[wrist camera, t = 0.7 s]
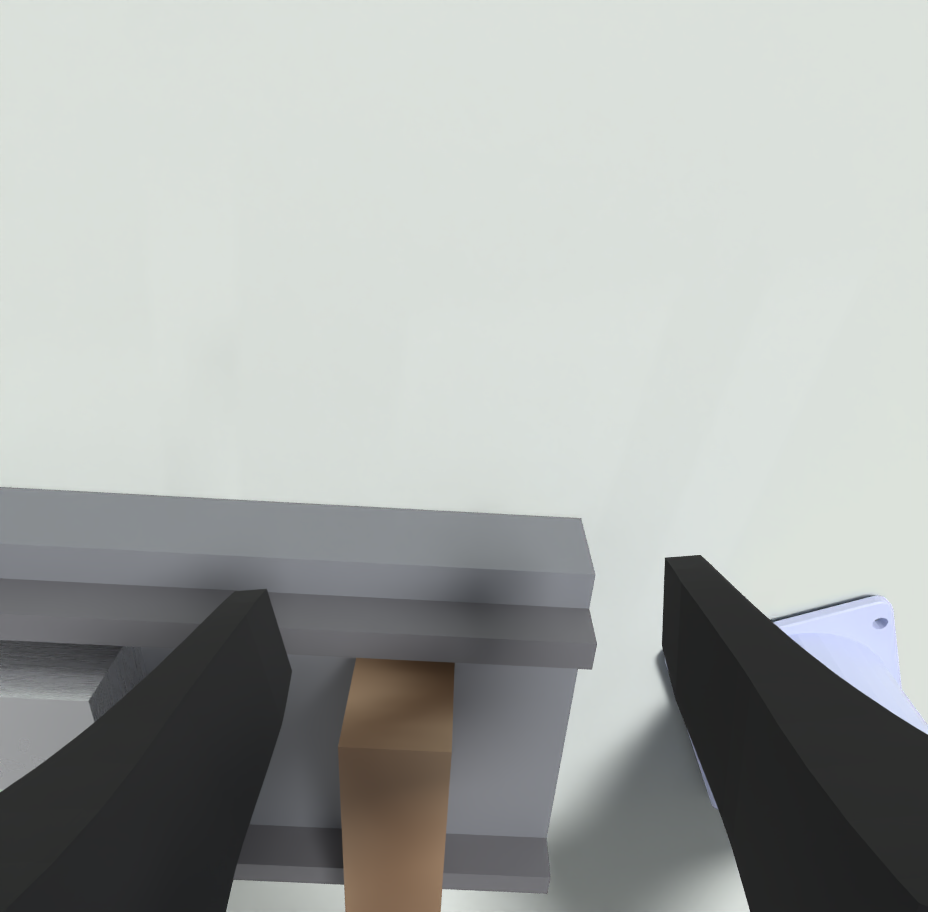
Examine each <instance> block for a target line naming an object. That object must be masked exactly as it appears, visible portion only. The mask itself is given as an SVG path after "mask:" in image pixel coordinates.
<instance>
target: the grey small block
mask: <svg viewBox="0 0 928 912" xmlns="http://www.w3.org/2000/svg"><path fill="white" fill-rule="evenodd" d="M146 676H147V671H146V667H145V662H144V658H143V654H142V649H141V647H132V646H112V645H92V644H72V643H52V642H32V641H12V640H0V790H4V789H6V788H7V787H8V786H10V785H11V784H13V783H14V782H16V781H17V780H19V779H20V778H22V777H23V776H24V775H26V774H27V773H29V772H30V771H32V770H33V769H35V768H36V767H37V766H39V765H40V764H42V763H43V762H44V761H46V760H47V759H48V758H50V757H51V756H52V755H53V754H55V753H56V752H57V751H59V750H60V749H61V748H63V747H64V746H65V745H66V744H68V743H69V742H70V741H72V740H73V739H74V738H76V737H77V736H78V735H79V734H81V733H82V732H83V731H84V730H86V729H87V728H88V727H89V726H90V725H92V724H93V723H94V722H95V721H96V720H98V719H99V718H100V717H101V716H102V715H104V714H105V713H106V712H107V711H108V710H109V709H110V708H112V707H113V706H114V705H115V704H116V703H117V702H118V701H119V700H120V699H122V698H123V697H124V696H125V695H126V694H127V693H128V692H129V691H131V690H132V689H133V688H134V687H135V686H136V685H137V684H138V683H139V682H141V681H142V680H143V679H144V678H145V677H146Z"/></svg>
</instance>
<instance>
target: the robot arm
mask: <svg viewBox="0 0 928 912" xmlns="http://www.w3.org/2000/svg"><path fill="white" fill-rule="evenodd" d="M879 618H880V619H879ZM876 619H879V620H877V621H875V620H876ZM662 647H663V651H664V655H665V663H666V666H667V669H668V672H669V676H670V679H671V683H672V687H673V691H674V695H675V698H676V701H677V704H678V706H679V709H680V712H681V714H682V717H683V719H684V722H685V725H686V728H687V731H688V734H689V737H690V740H691V743H692V746H693V749H694V752H695V755H696V758H697V762H698V765H699V768H700V771H701V774H702V777H703V780H704V783H705V786H706V789H707V792H708V795H709V798H710V801H711V804H712V806H713V807H714V808H716V809H718V810H719V812H720V815H721V817H722V820H723V823H724V826H725V829H726V832H727V834H728V837H729V840H730V843H731V846H732V849H733V853H734V856H735V860H736V863H737V867H738V870H739V874H740V877H741V881H742V884H743V888H744V891H745V895H746V898H747V902H748V905H749V909H750V912H928V725H927V723H926V722H925V720H924V719H923V718H922V716H921V715H920V713H919V712H918V711H917V709H916V708H915V707H914V705H913V704H912V702H911V701H910V700H909V698H908V697H907V695H906V694H905V693H904V691H903V690H902V687H901V677H900V668H899V658H898V649H897V640H896V630H895V621H894V611H893V607H892V605H891V603H890V602H889V601H888V600H887V599H886V598H885V597H883V596H871V597H868V598H864V599H860V600H856V601H852V602H848V603H845V604H841V605H837V606H833V607H829V608H825V609H821V610H818V611H814V612H810V613H806V614H802V615H798V616H795V617H791V618H787V619H783V620H779V621H775V622H772V621H771V620H770V619H769V618H767V617H766V616H765V615H764V614H763V613H762V612H761V611H760V610H758V609H757V608H756V607H755V606H754V605H753V604H752V603H751V602H750V601H749V600H748V599H746V598H745V597H744V596H743V595H742V594H741V593H740V592H739V591H738V590H737V589H736V588H735V587H734V586H733V585H732V584H731V583H730V582H728V581H727V580H726V579H725V578H724V577H723V576H722V575H721V574H720V573H719V572H718V571H717V570H716V569H715V568H714V567H713V566H712V565H711V564H710V563H709V562H708V561H707V560H705V559H704V558H703V557H702V556H701V555H695V556H682V557H669V558H665V575H664V603H663V632H662ZM291 675H292V669H291V665H290V662H289V659H288V656H287V653H286V649H285V646H284V643H283V640H282V636H281V633H280V630H279V627H278V623H277V620H276V617H275V614H274V610H273V607H272V604H271V601H270V597H269V594H268V591H267V589H257V590H244V591H234V592H233V593H232V594H231V595H230V596H229V597H228V598H227V599H226V600H224V601H223V602H222V603H221V604H220V605H219V606H218V607H217V608H216V609H215V610H214V611H213V612H212V613H211V614H210V615H209V616H208V617H207V618H206V619H205V620H204V621H203V622H202V623H201V624H200V625H199V626H198V627H197V628H196V629H195V630H194V631H193V632H192V633H191V634H190V635H189V636H188V637H187V638H186V639H185V640H184V641H183V642H182V643H181V644H180V645H179V646H178V647H177V648H176V649H175V650H173V651H172V652H171V653H170V654H169V655H168V656H167V657H166V658H165V659H164V660H163V661H162V662H161V663H160V664H159V665H158V666H157V667H156V668H155V669H154V670H153V671H152V672H151V673H150V674H148V675H147V676H146V677H145V678H144V679H143V680H142V681H141V682H139V683H138V684H137V685H136V686H135V687H134V688H133V689H132V690H131V691H129V692H128V693H127V694H126V695H125V696H124V697H123V698H122V699H120V700H119V701H118V702H117V703H116V704H115V705H114V706H113V707H112V708H110V709H109V710H108V711H107V712H106V713H105V714H104V715H102V716H101V717H100V718H99V719H98V720H96V721H95V722H94V723H93V724H92V725H90V726H89V727H88V728H87V729H86V730H84V731H83V732H82V733H81V734H79V735H78V736H77V737H76V738H74V739H73V740H72V741H70V742H69V743H68V744H66V745H65V746H64V747H63V748H61V749H60V750H59V751H57V752H56V753H55V754H53V755H52V756H51V757H50V758H48V759H47V760H46V761H44V762H43V763H42V764H40V765H39V766H37V767H36V768H35V769H33V770H32V771H30V772H29V773H27V774H26V775H24V776H23V777H22V778H20V779H19V780H17V781H16V782H14V783H13V784H11V785H10V786H8V787H7V788H6V789H4V790H3V791H1V792H0V912H226V909H227V904H228V900H229V895H230V891H231V887H232V882H233V878H234V874H235V870H236V866H237V863H238V859H239V856H240V852H241V849H242V845H243V842H244V839H245V836H246V833H247V830H248V827H249V824H250V821H251V818H252V815H253V812H254V809H255V806H256V803H257V800H258V797H259V794H260V791H261V788H262V785H263V782H264V779H265V776H266V773H267V770H268V767H269V764H270V761H271V757H272V754H273V751H274V748H275V745H276V742H277V739H278V736H279V732H280V729H281V726H282V722H283V718H284V713H285V708H286V703H287V698H288V692H289V686H290V681H291Z"/></svg>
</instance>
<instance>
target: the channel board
mask: <svg viewBox="0 0 928 912" xmlns="http://www.w3.org/2000/svg"><path fill="white" fill-rule="evenodd" d="M594 579H595V571H594V567H593V563H592V559H591V556H590V552H589V548H588V544H587V540H586V536H585V532H584V528H583V524H582V520H581V518H563V517H544V516H525V515H507V514H488V513H470V512H451V511H432V510H414V509H395V508H377V507H358V506H340V505H321V504H302V503H284V502H265V501H247V500H228V499H209V498H191V497H172V496H154V495H135V494H116V493H98V492H79V491H61V490H42V489H23V488H5V487H0V640H12V641H32V642H52V643H72V644H92V645H112V646H132V647H141V649H142V654H143V658H144V662H145V667H146V671H147V675H148V674H150V673H151V672H152V671H153V670H154V669H155V668H156V667H157V666H158V665H159V664H160V663H161V662H162V661H163V660H164V659H165V658H166V657H167V656H168V655H169V654H170V653H171V652H172V651H173V650H175V649H176V648H177V647H178V646H179V645H180V644H181V643H182V642H183V641H184V640H185V639H186V638H187V637H188V636H189V635H190V634H191V633H192V632H193V631H194V630H195V629H196V628H197V627H198V626H199V625H200V624H201V623H202V622H203V621H204V620H205V619H206V618H207V617H208V616H209V615H210V614H211V613H212V612H213V611H214V610H215V609H216V608H217V607H218V606H219V605H220V604H221V603H222V602H223V601H224V600H226V599H227V598H228V597H229V596H230V595H231V594H232V593H233V592H234V591H244V590H257V589H267V591H268V594H269V597H270V601H271V604H272V607H273V610H274V614H275V617H276V620H277V623H278V627H279V630H280V633H281V636H282V640H283V643H284V646H285V649H286V653H287V656H288V659H289V662H290V665H291V669H292V675H291V681H290V686H289V692H288V698H287V703H286V708H285V713H284V718H283V722H282V726H281V729H280V732H279V736H278V739H277V742H276V745H275V748H274V751H273V754H272V757H271V761H270V764H269V767H268V770H267V773H266V776H265V779H264V782H263V785H262V788H261V791H260V794H259V797H258V800H257V803H256V806H255V809H254V812H253V815H252V818H251V821H250V824H249V827H248V830H247V833H246V836H245V839H244V842H243V845H242V849H241V852H240V856H239V859H238V863H237V866H236V870H235V874H234V878H233V880H253V881H276V882H298V883H321V884H343V885H344V867H343V846H342V824H341V802H340V781H339V759H338V744H339V739H340V734H341V730H342V725H343V720H344V715H345V710H346V705H347V700H348V696H349V691H350V686H351V681H352V676H353V671H354V666H355V661H356V658H372V659H392V660H412V661H432V662H452V663H455V666H454V698H453V730H452V756H451V770H450V784H449V798H448V812H447V826H446V840H445V854H444V869H443V883H442V889H456V890H478V891H501V892H523V893H546V894H547V892H548V887H549V882H550V869H549V858H548V848H547V833H548V827H549V822H550V816H551V811H552V806H553V800H554V795H555V789H556V784H557V779H558V773H559V768H560V762H561V757H562V752H563V746H564V741H565V736H566V730H567V725H568V719H569V714H570V709H571V703H572V698H573V692H574V687H575V682H576V676H577V671H578V669H592V666H593V661H594V656H595V651H596V646H597V642H596V637H595V633H594V628H593V624H592V620H591V615H590V611H589V606H590V601H591V596H592V590H593V585H594Z"/></svg>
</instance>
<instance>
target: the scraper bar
mask: <svg viewBox="0 0 928 912" xmlns="http://www.w3.org/2000/svg"><path fill="white" fill-rule="evenodd" d="M454 666H455V663H452V662H432V661H412V660H392V659H372V658H356V661H355V666H354V671H353V676H352V681H351V686H350V691H349V696H348V700H347V705H346V710H345V715H344V720H343V725H342V730H341V734H340V739H339V744H338V759H339V781H340V802H341V824H342V846H343V867H344V889H345V911H346V912H440V911H441V897H442V883H443V869H444V854H445V840H446V826H447V812H448V798H449V784H450V770H451V756H452V730H453V698H454Z"/></svg>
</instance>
